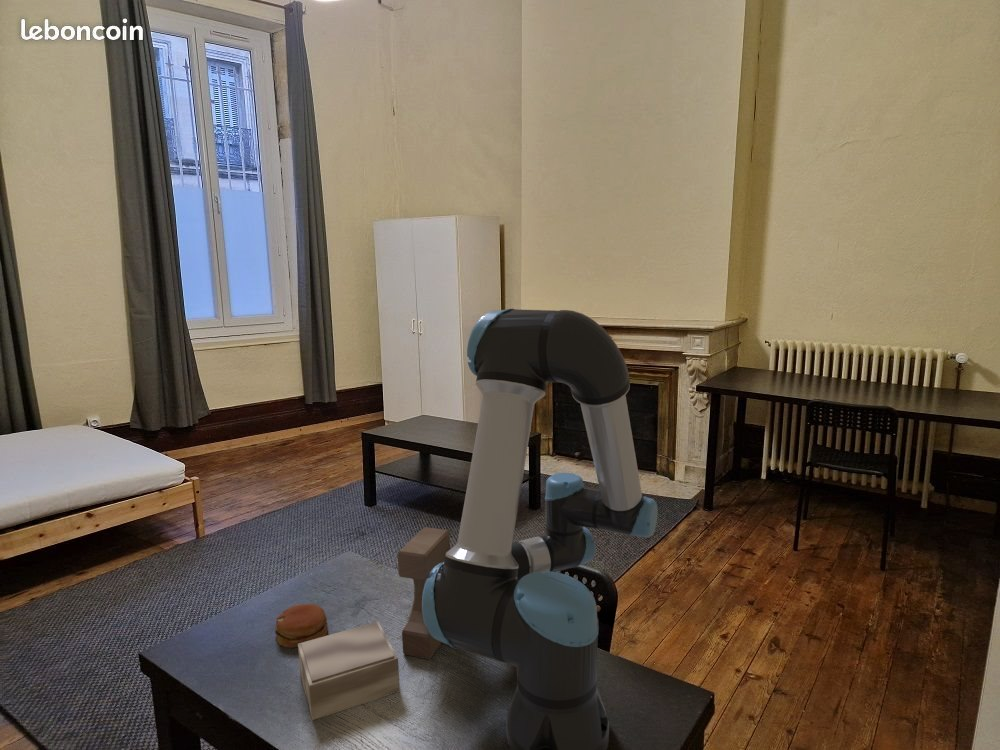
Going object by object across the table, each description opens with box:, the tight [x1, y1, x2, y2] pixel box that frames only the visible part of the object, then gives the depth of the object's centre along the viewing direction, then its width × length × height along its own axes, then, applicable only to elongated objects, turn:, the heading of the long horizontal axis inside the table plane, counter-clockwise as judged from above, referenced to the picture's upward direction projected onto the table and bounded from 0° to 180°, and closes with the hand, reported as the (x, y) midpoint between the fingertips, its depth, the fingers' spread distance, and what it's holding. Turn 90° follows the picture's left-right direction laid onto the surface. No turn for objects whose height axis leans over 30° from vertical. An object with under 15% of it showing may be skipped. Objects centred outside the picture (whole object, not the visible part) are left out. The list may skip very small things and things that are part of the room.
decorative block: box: [396, 526, 451, 660], centre depth 113 cm, size 11×6×20 cm, turn 160°
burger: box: [274, 603, 329, 649], centre depth 117 cm, size 10×9×5 cm
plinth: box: [297, 621, 401, 721], centre depth 103 cm, size 12×14×6 cm
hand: (420, 586), depth 112 cm, fingers open, 13 cm apart
